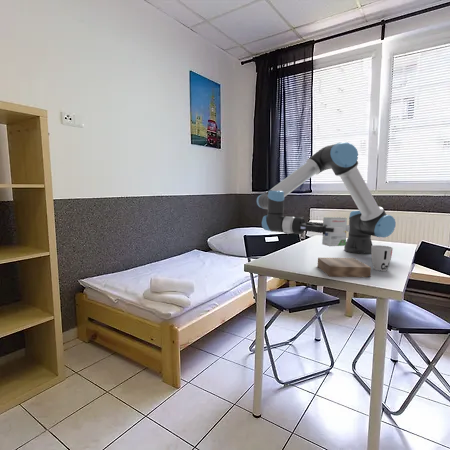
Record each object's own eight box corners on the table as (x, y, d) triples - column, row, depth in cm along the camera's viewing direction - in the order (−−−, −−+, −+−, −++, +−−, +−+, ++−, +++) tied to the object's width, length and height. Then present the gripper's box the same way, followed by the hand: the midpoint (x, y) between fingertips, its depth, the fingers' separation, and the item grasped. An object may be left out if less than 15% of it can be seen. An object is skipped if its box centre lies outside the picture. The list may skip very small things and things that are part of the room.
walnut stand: (353, 266, 133) (353, 258, 133) (370, 277, 117) (371, 267, 117) (317, 266, 133) (318, 257, 133) (329, 276, 117) (330, 266, 117)
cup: (382, 273, 124) (384, 249, 122) (365, 268, 131) (367, 246, 130) (395, 270, 127) (396, 247, 126) (377, 266, 134) (379, 244, 133)
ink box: (329, 246, 122) (331, 218, 120) (321, 244, 127) (322, 216, 125) (346, 245, 125) (348, 217, 123) (338, 243, 129) (339, 216, 128)
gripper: (303, 230, 145) (351, 235, 131) (283, 236, 127) (337, 242, 114) (303, 215, 144) (352, 218, 131) (284, 218, 126) (339, 222, 113)
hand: (345, 229), depth 122 cm, fingers closed on ink box, 9 cm apart
